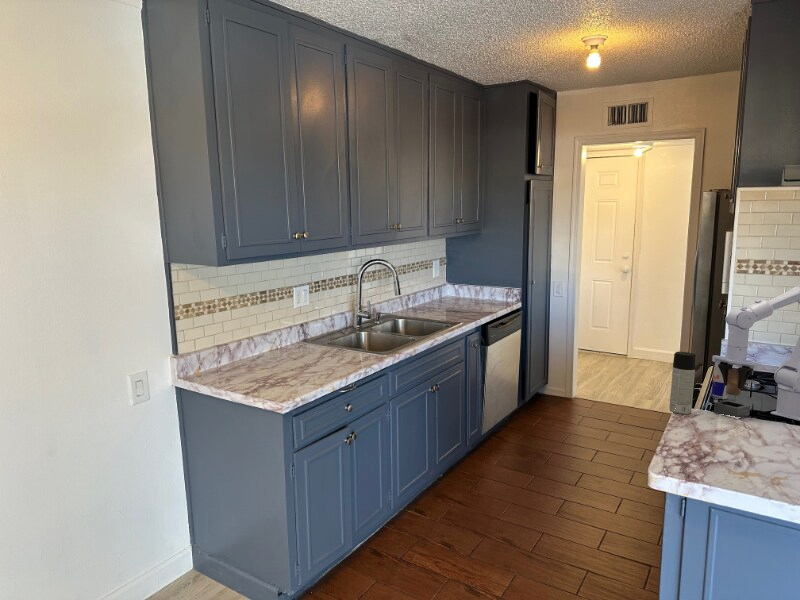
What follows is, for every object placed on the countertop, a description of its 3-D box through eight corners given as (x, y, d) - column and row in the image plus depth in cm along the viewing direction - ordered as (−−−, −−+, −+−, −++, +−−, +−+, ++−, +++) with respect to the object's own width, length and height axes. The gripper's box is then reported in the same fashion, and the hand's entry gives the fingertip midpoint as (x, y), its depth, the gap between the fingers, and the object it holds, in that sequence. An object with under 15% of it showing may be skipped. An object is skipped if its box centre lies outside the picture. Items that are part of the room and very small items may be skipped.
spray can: (693, 412, 188) (698, 353, 186) (687, 416, 183) (692, 355, 181) (672, 407, 192) (677, 350, 191) (666, 411, 187) (670, 352, 186)
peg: (742, 394, 185) (744, 370, 184) (736, 396, 183) (738, 372, 182) (730, 391, 188) (732, 368, 188) (723, 393, 186) (725, 369, 186)
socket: (749, 416, 185) (750, 405, 185) (737, 419, 181) (738, 408, 181) (725, 410, 191) (726, 400, 191) (713, 412, 187) (714, 402, 187)
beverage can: (712, 396, 210) (716, 356, 208) (728, 398, 207) (731, 359, 205) (709, 398, 206) (713, 358, 204) (725, 401, 203) (729, 360, 201)
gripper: (708, 343, 188) (705, 383, 189) (754, 351, 176) (750, 393, 177) (720, 342, 192) (716, 381, 193) (765, 349, 180) (761, 390, 181)
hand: (733, 386), depth 185 cm, fingers closed on peg, 4 cm apart
